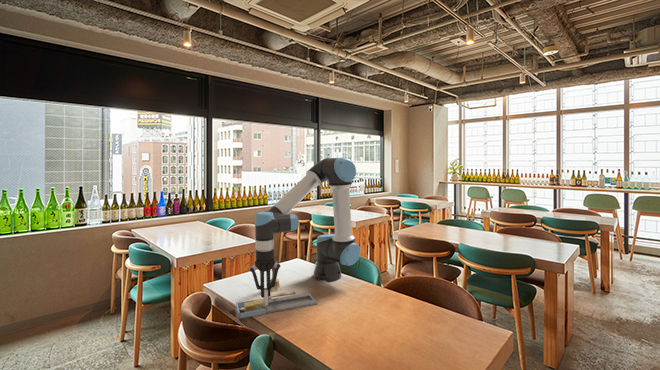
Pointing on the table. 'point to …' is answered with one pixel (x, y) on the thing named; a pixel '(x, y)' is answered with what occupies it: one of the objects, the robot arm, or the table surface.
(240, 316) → the tray
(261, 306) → the yellow square block
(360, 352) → the table surface
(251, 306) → the chip
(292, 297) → the slot board
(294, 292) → the hammer
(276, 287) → the hand bell
